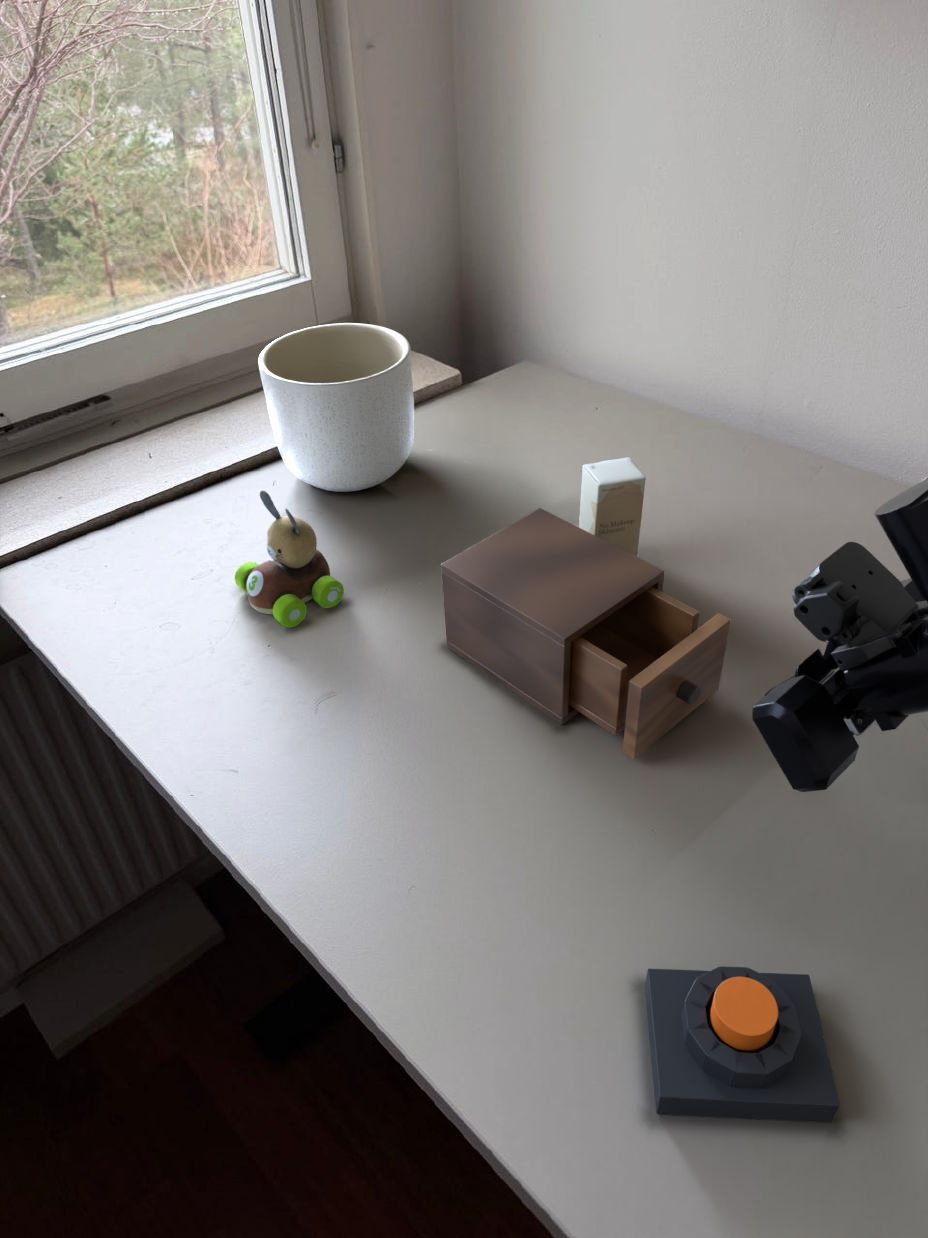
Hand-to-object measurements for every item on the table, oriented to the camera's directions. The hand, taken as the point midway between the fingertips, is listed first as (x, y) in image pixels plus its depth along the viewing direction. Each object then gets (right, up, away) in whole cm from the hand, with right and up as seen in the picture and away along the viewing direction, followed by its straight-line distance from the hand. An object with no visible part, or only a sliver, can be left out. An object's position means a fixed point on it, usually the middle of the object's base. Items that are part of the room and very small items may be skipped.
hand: (770, 698), depth 68 cm
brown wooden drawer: (-9, 0, +13) cm, 16 cm away
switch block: (-6, -21, -11) cm, 24 cm away
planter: (-36, +24, +46) cm, 63 cm away
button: (-6, -18, -14) cm, 23 cm away
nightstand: (-14, +3, +18) cm, 23 cm away
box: (-8, +11, +29) cm, 32 cm away
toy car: (-40, +8, +27) cm, 49 cm away
